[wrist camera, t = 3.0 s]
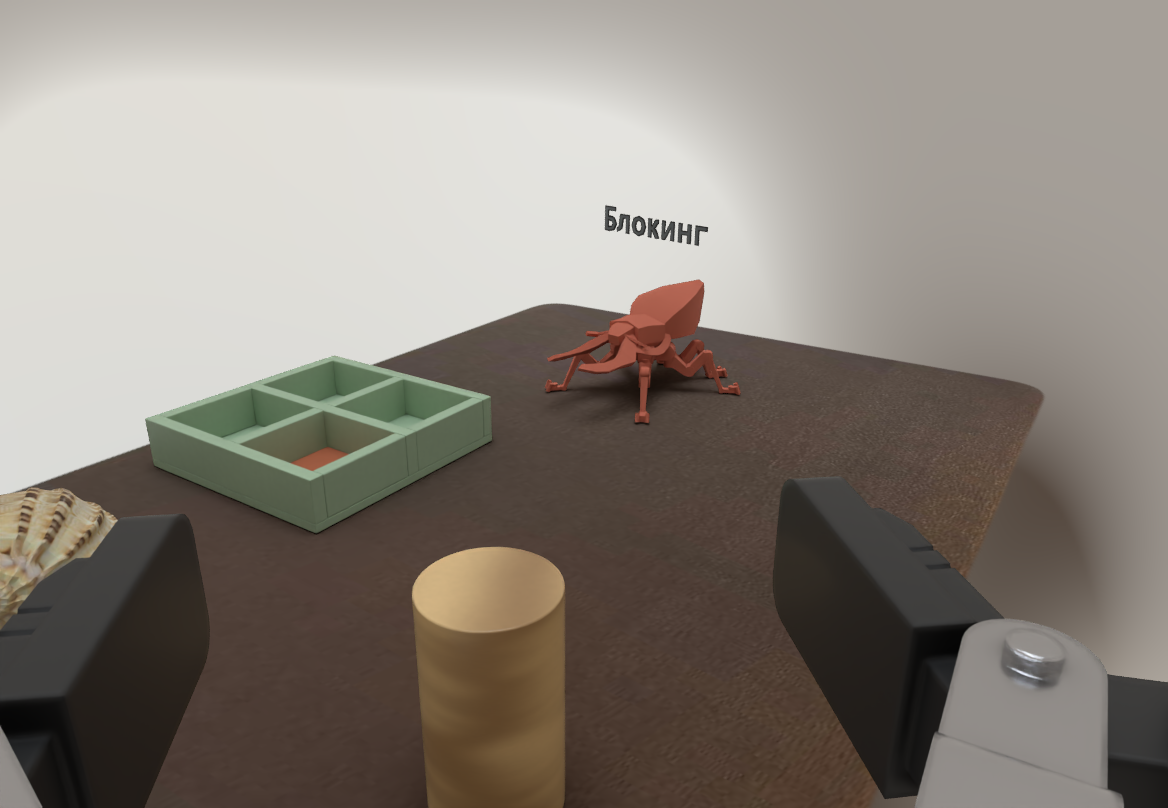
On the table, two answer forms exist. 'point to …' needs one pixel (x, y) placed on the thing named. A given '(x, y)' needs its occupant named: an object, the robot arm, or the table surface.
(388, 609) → the table surface
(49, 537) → the seashell
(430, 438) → the grid
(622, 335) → the beetle
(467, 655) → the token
